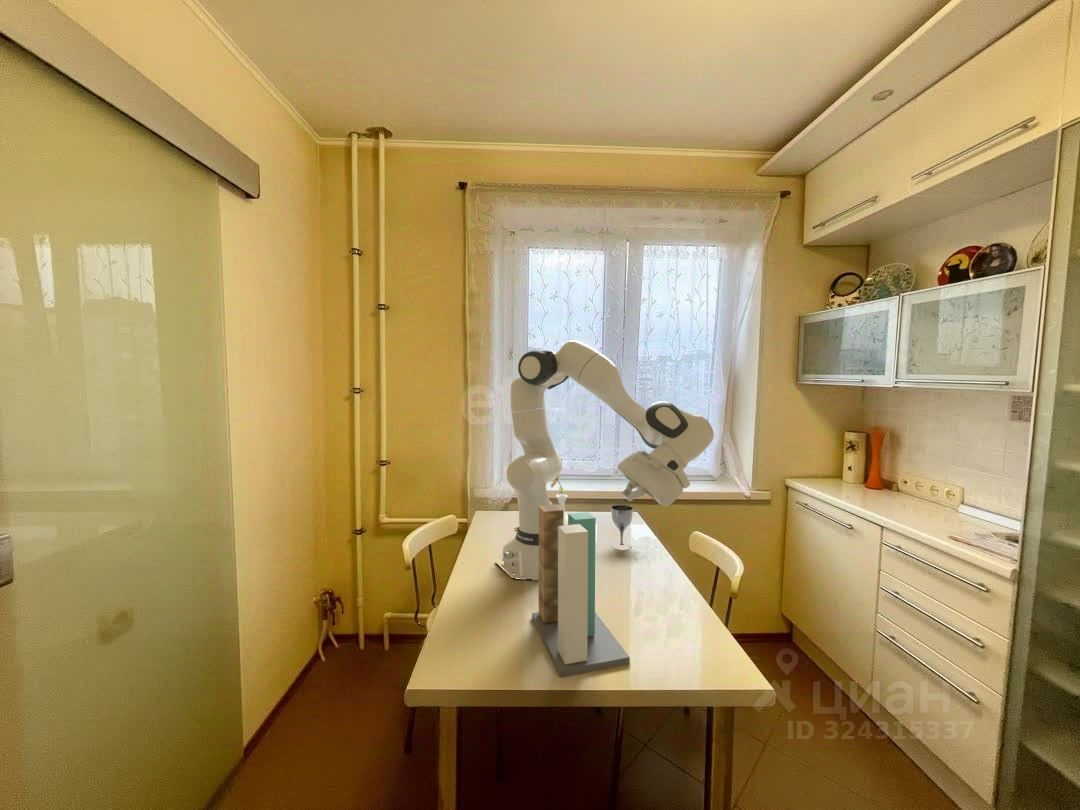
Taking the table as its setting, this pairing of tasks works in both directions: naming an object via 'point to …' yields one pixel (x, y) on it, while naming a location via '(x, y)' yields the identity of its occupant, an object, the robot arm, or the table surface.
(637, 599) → the table surface
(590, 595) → the teal post
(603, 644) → the board
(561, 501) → the flower in vase
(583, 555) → the cream post
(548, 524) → the walnut post
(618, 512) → the wine glass
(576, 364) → the robot arm
